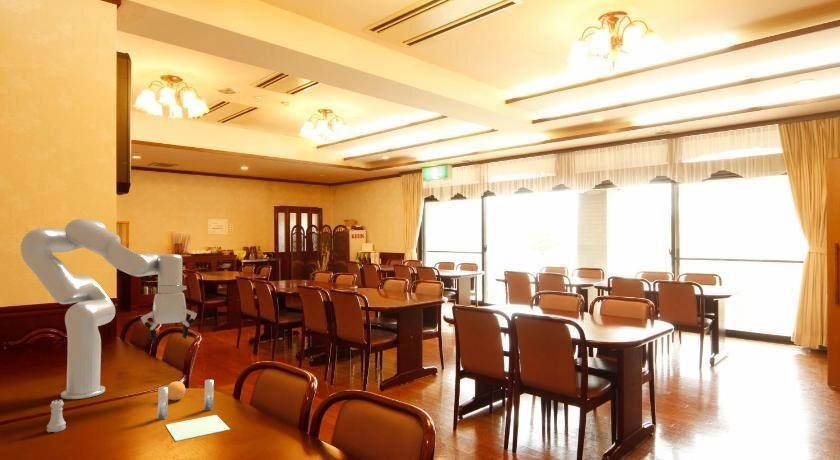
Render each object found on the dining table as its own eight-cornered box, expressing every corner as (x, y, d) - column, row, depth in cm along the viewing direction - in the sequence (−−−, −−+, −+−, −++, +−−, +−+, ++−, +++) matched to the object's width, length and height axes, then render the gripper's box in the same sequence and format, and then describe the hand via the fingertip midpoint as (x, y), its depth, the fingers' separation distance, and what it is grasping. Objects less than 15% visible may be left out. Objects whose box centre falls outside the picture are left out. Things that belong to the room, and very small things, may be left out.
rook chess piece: (55, 433, 135) (56, 404, 135) (42, 432, 136) (42, 403, 136) (70, 427, 140) (70, 399, 140) (57, 426, 140) (57, 398, 141)
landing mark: (165, 425, 142) (165, 424, 142) (216, 415, 150) (216, 414, 150) (175, 441, 131) (175, 440, 131) (230, 429, 139) (230, 428, 139)
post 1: (156, 417, 148) (157, 387, 148) (166, 415, 149) (167, 385, 150) (158, 420, 146) (159, 389, 146) (168, 418, 147) (168, 388, 148)
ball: (163, 399, 165) (163, 381, 165) (183, 395, 169) (183, 378, 169) (167, 404, 160) (167, 385, 160) (187, 400, 164) (187, 382, 164)
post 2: (203, 409, 156) (203, 380, 156) (211, 407, 157) (212, 378, 158) (205, 411, 154) (205, 382, 154) (214, 409, 155) (214, 380, 155)
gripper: (194, 287, 180) (193, 335, 179) (140, 290, 170) (139, 340, 169) (199, 289, 174) (198, 338, 173) (143, 292, 163) (142, 344, 163)
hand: (169, 339), depth 171 cm, fingers open, 9 cm apart
